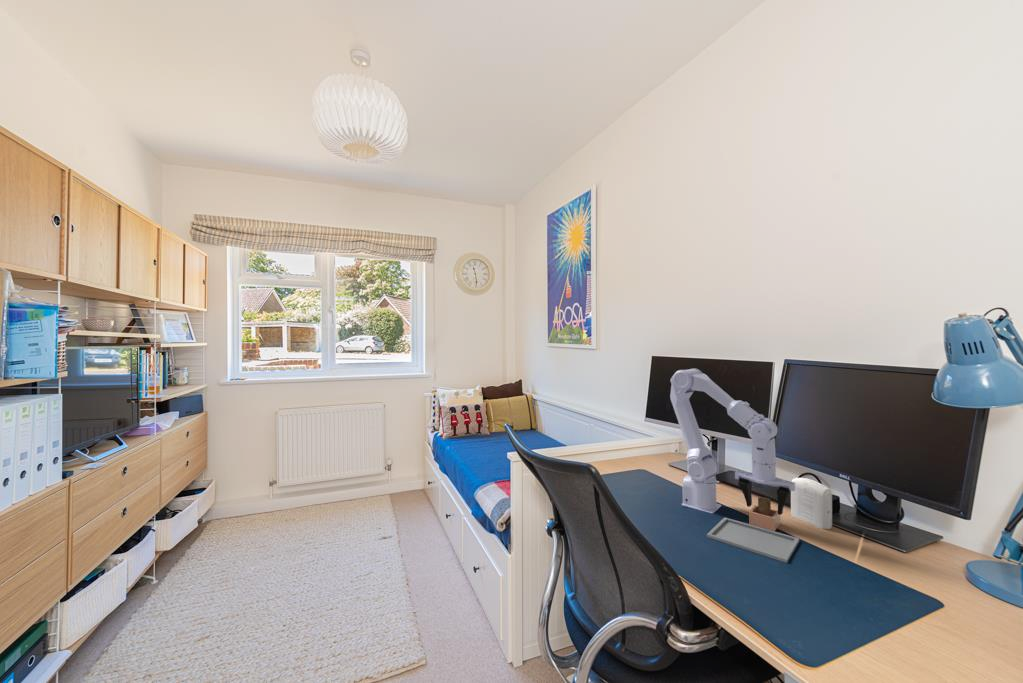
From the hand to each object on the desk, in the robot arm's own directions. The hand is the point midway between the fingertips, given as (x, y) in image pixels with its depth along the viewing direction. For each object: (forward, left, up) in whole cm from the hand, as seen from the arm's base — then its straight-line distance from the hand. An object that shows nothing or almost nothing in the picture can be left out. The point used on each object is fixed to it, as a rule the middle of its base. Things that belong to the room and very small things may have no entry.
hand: (764, 509), depth 113 cm
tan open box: (0, 0, -5) cm, 5 cm away
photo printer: (+9, +11, -5) cm, 15 cm away
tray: (0, -12, -5) cm, 13 cm away
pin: (0, 0, -4) cm, 4 cm away
